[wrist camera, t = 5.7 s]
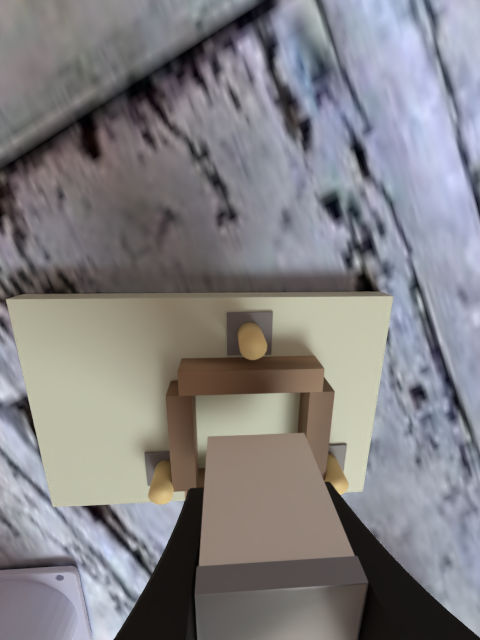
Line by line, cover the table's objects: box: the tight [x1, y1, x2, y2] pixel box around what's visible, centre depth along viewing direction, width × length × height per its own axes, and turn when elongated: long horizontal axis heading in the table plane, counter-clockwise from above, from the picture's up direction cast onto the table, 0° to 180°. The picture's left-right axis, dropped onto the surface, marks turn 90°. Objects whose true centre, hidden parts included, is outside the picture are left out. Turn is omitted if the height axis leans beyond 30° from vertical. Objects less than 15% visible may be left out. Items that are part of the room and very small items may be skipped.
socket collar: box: [166, 356, 335, 499], centre depth 15 cm, size 8×8×2 cm
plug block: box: [195, 433, 369, 640], centre depth 10 cm, size 4×4×6 cm
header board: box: [6, 291, 393, 507], centre depth 15 cm, size 18×12×3 cm, turn 90°
